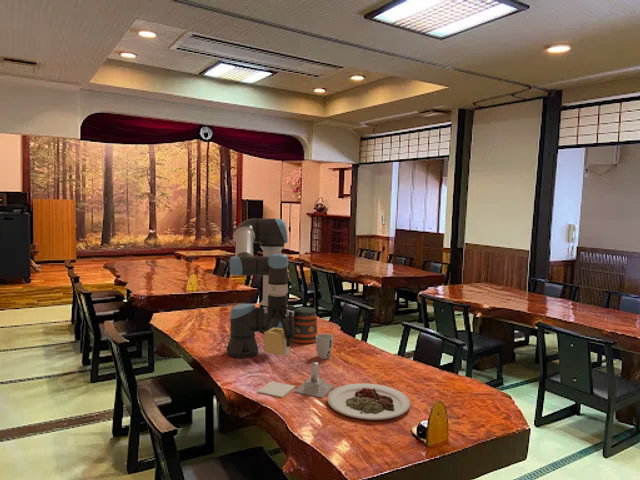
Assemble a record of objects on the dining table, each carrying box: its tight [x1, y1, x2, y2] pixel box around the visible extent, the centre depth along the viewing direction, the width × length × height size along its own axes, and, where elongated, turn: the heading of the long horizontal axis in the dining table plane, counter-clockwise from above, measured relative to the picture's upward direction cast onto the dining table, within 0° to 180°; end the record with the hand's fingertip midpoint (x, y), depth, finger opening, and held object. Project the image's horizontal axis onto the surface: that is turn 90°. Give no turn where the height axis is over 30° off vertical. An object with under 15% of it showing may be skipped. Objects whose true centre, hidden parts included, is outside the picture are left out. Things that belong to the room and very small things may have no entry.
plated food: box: [326, 382, 411, 421], centre depth 172 cm, size 30×30×3 cm
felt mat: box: [256, 380, 297, 399], centre depth 183 cm, size 11×11×1 cm
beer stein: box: [286, 304, 319, 345], centre depth 247 cm, size 19×15×20 cm
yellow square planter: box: [263, 327, 291, 356], centre depth 181 cm, size 7×7×8 cm
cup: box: [315, 333, 334, 360], centre depth 222 cm, size 8×8×10 cm
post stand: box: [293, 361, 335, 399], centre depth 184 cm, size 12×12×11 cm
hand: (277, 352), depth 182 cm, fingers closed on yellow square planter, 7 cm apart
